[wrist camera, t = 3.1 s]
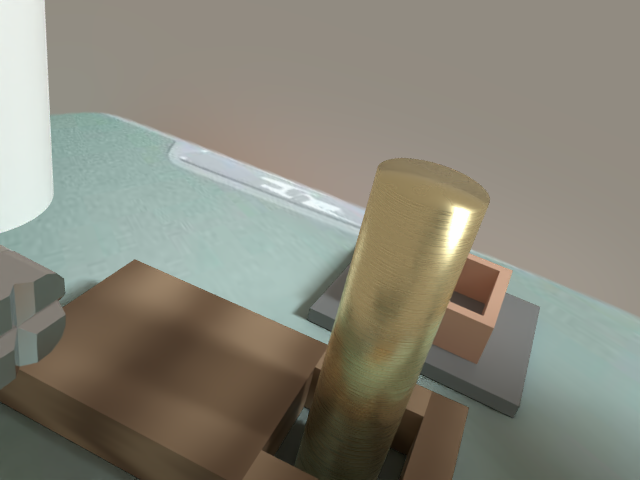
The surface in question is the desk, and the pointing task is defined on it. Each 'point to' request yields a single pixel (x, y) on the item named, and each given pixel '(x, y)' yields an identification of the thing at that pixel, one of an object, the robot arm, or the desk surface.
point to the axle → (389, 313)
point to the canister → (24, 114)
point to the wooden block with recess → (197, 386)
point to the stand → (470, 335)
